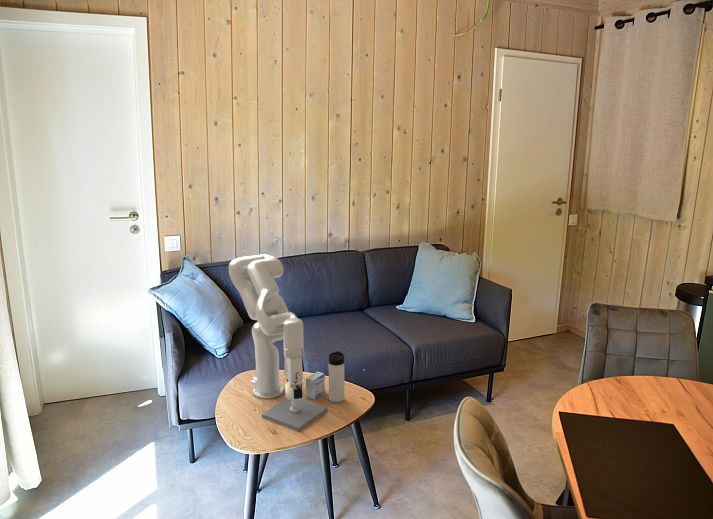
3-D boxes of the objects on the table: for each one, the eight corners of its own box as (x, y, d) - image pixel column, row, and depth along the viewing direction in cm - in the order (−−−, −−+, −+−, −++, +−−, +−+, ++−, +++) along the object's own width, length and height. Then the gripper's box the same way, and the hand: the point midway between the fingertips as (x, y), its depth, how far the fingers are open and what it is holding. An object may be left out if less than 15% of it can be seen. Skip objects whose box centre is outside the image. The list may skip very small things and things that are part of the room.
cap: (290, 390, 213) (290, 377, 212) (306, 393, 211) (306, 380, 209) (282, 398, 207) (281, 385, 205) (299, 401, 204) (298, 388, 203)
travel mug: (346, 397, 224) (346, 351, 219) (342, 405, 218) (342, 358, 213) (331, 395, 225) (331, 350, 221) (327, 403, 219) (326, 356, 214)
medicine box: (314, 400, 222) (314, 380, 219) (305, 397, 224) (305, 378, 222) (325, 392, 228) (325, 373, 226) (316, 389, 230) (316, 370, 228)
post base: (261, 417, 208) (261, 400, 206) (292, 398, 223) (291, 382, 221) (298, 431, 198) (298, 413, 197) (327, 410, 213) (327, 393, 211)
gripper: (278, 344, 211) (279, 384, 215) (290, 361, 195) (291, 404, 199) (296, 341, 214) (297, 381, 218) (310, 358, 198) (310, 401, 202)
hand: (294, 392), depth 208 cm, fingers open, 9 cm apart
